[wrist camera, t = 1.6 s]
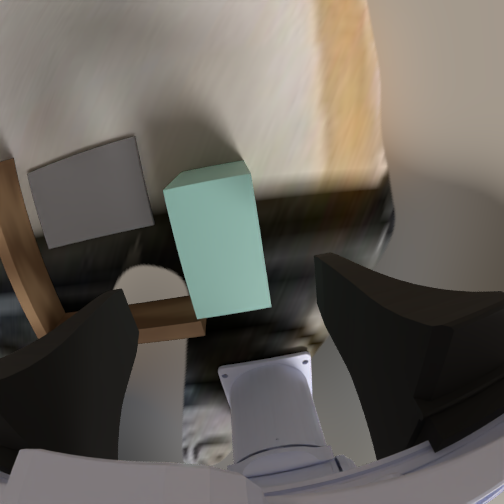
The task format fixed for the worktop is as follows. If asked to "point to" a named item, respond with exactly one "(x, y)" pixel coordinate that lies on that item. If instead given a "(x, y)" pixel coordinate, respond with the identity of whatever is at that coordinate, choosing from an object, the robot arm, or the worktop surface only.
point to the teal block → (218, 239)
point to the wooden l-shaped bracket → (41, 288)
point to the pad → (91, 194)
